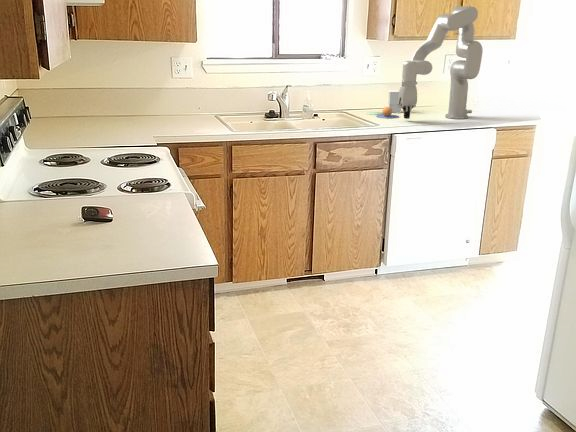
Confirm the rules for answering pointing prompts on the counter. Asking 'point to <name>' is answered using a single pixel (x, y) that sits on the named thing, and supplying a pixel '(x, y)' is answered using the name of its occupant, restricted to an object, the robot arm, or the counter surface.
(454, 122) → the counter surface
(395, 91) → the supplement box
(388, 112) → the ball
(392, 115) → the navy disc
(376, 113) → the green far disc
